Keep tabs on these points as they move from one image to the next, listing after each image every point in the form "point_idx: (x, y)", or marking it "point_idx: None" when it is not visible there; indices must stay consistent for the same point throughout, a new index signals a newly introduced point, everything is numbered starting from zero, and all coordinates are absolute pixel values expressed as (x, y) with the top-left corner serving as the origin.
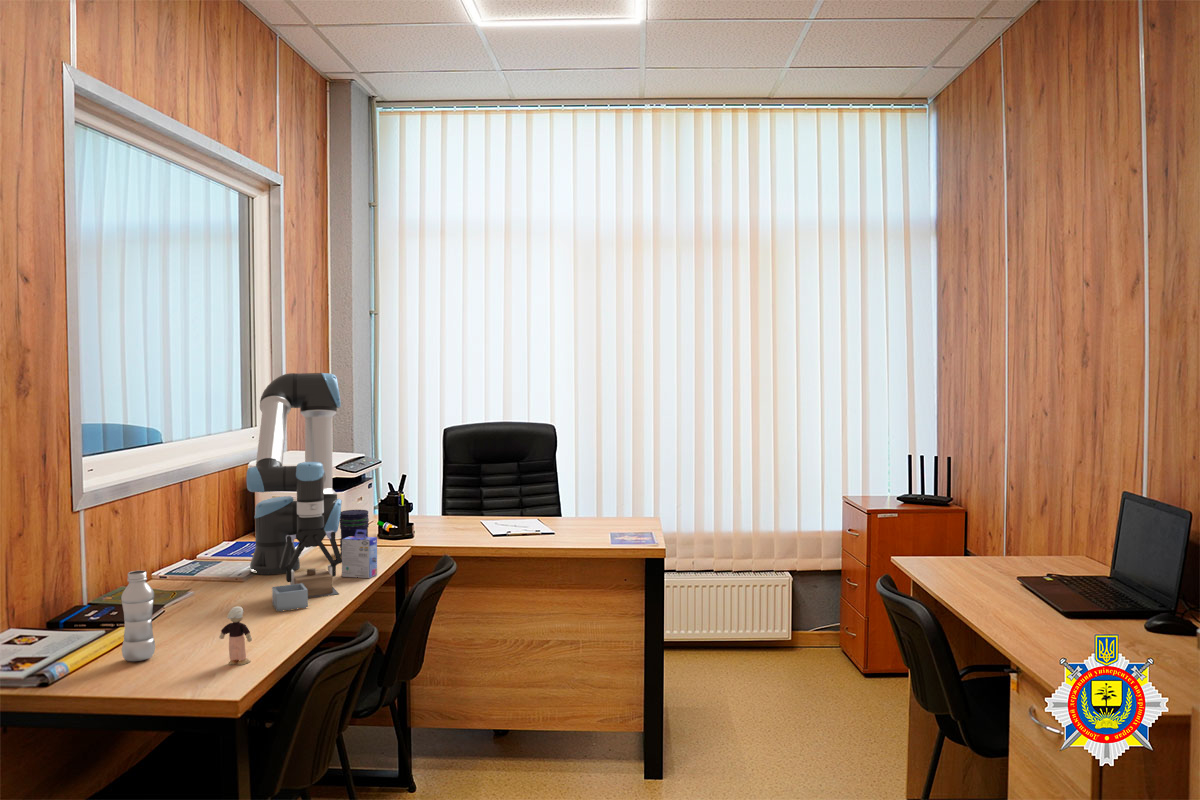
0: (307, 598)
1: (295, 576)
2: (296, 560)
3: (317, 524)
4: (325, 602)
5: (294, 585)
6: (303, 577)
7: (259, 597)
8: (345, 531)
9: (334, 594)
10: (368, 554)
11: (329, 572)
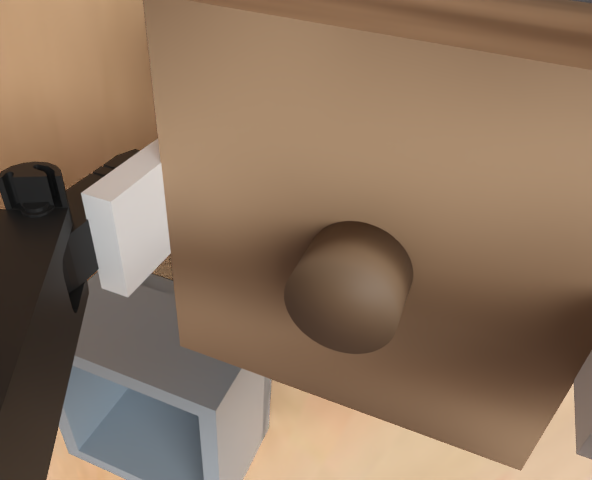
0: (244, 472)
1: (185, 215)
2: (58, 405)
3: None
4: (381, 430)
5: (164, 396)
6: (250, 308)
7: (18, 27)
8: None
9: None
10: None
11: (580, 376)
